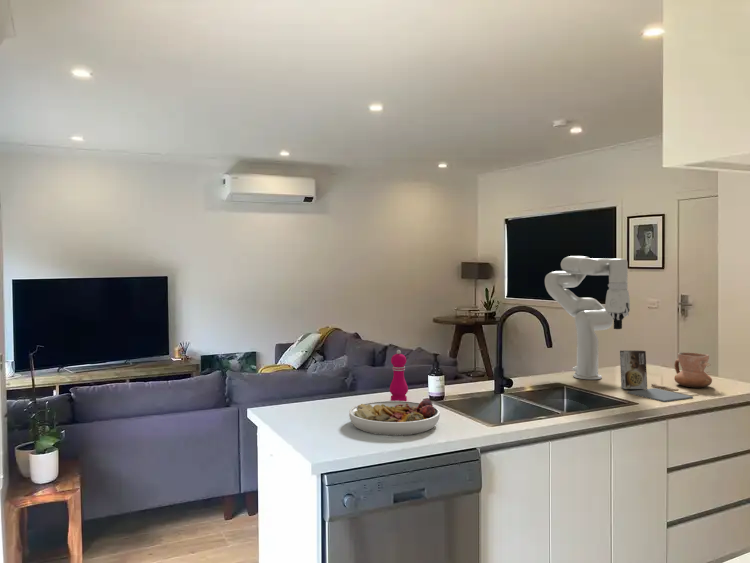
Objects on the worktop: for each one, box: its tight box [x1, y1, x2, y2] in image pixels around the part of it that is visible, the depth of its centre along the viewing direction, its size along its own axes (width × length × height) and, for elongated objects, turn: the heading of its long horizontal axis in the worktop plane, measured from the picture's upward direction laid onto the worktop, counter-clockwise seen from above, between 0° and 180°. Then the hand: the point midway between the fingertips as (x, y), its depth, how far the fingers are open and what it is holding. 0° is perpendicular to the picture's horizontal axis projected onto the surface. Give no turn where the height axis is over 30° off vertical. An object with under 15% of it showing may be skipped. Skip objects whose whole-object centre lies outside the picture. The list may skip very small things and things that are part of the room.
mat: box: [626, 387, 694, 403], centre depth 242 cm, size 18×16×1 cm
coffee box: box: [619, 349, 648, 390], centre depth 255 cm, size 9×6×16 cm
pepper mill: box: [389, 349, 409, 401], centre depth 234 cm, size 7×7×20 cm
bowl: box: [348, 398, 441, 436], centre depth 199 cm, size 30×30×8 cm
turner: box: [651, 383, 699, 397], centre depth 251 cm, size 20×5×1 cm, turn 24°
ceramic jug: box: [674, 351, 713, 389], centre depth 261 cm, size 18×14×14 cm
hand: (617, 328), depth 262 cm, fingers closed
